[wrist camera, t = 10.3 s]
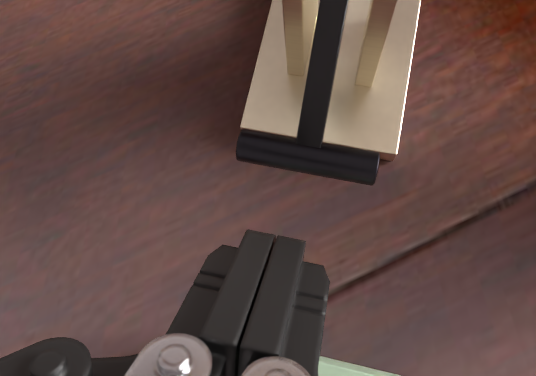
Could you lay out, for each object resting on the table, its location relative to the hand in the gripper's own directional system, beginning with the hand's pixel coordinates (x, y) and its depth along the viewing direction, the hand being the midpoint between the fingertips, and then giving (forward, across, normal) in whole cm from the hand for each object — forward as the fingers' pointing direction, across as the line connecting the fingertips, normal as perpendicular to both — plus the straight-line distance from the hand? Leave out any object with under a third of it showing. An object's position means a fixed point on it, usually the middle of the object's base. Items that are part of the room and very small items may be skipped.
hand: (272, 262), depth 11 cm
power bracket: (+20, 0, -1) cm, 20 cm away
